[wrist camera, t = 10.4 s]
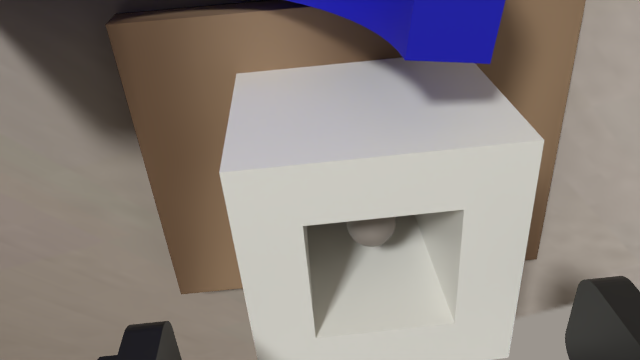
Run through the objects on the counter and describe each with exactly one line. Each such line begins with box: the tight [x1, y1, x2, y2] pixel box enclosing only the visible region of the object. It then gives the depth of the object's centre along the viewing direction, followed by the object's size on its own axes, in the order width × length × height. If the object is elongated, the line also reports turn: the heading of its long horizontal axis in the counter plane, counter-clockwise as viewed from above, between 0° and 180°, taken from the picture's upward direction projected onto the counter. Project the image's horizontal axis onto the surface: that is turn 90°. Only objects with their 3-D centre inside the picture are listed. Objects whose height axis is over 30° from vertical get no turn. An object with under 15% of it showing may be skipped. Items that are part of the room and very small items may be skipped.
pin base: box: [106, 0, 586, 294], centre depth 15 cm, size 12×9×5 cm
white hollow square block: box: [219, 58, 544, 360], centre depth 14 cm, size 6×6×5 cm
